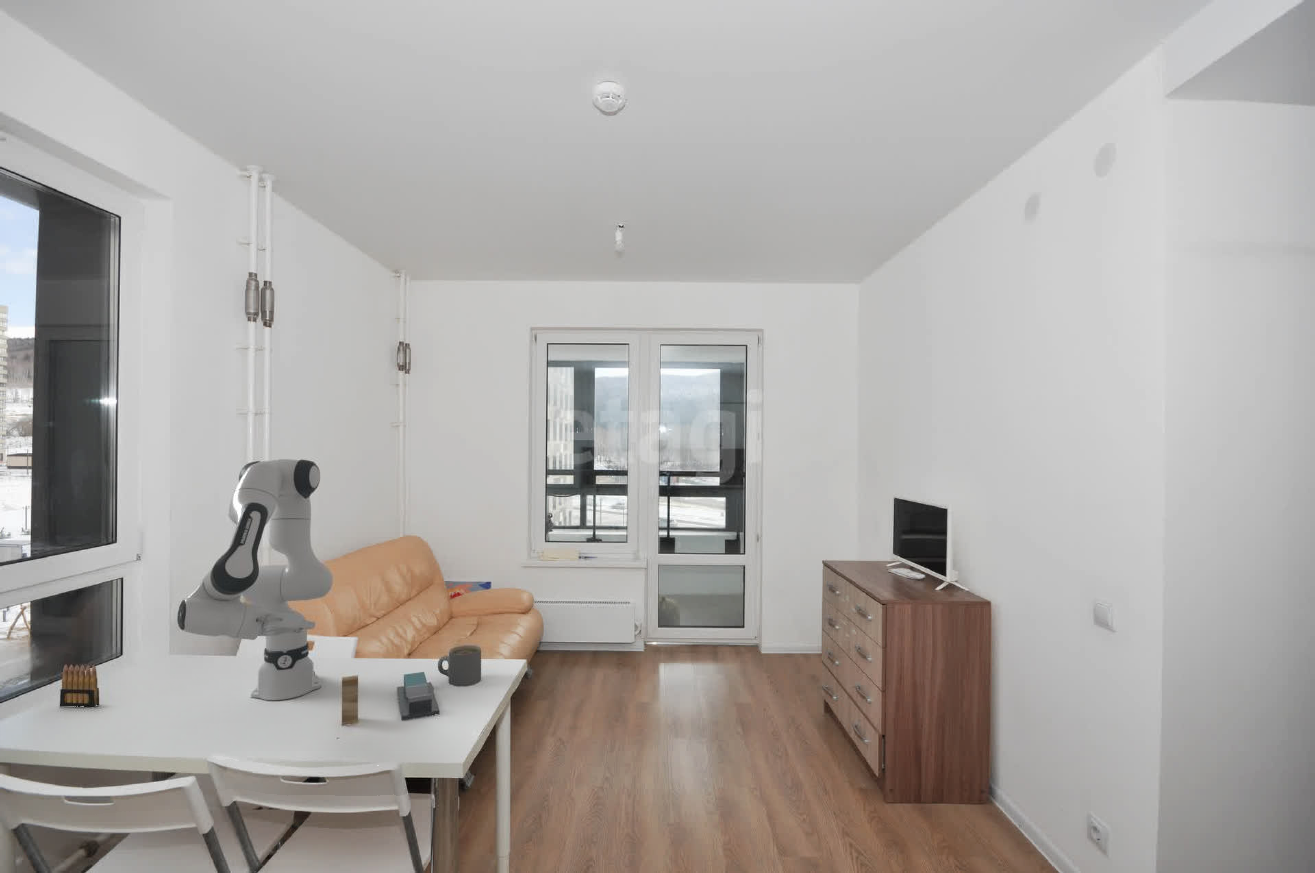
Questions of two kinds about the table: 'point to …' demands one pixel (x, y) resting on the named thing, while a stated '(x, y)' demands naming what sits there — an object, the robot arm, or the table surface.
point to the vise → (417, 704)
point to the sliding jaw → (415, 684)
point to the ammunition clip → (79, 687)
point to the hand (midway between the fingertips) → (308, 627)
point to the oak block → (349, 700)
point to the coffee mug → (462, 665)
